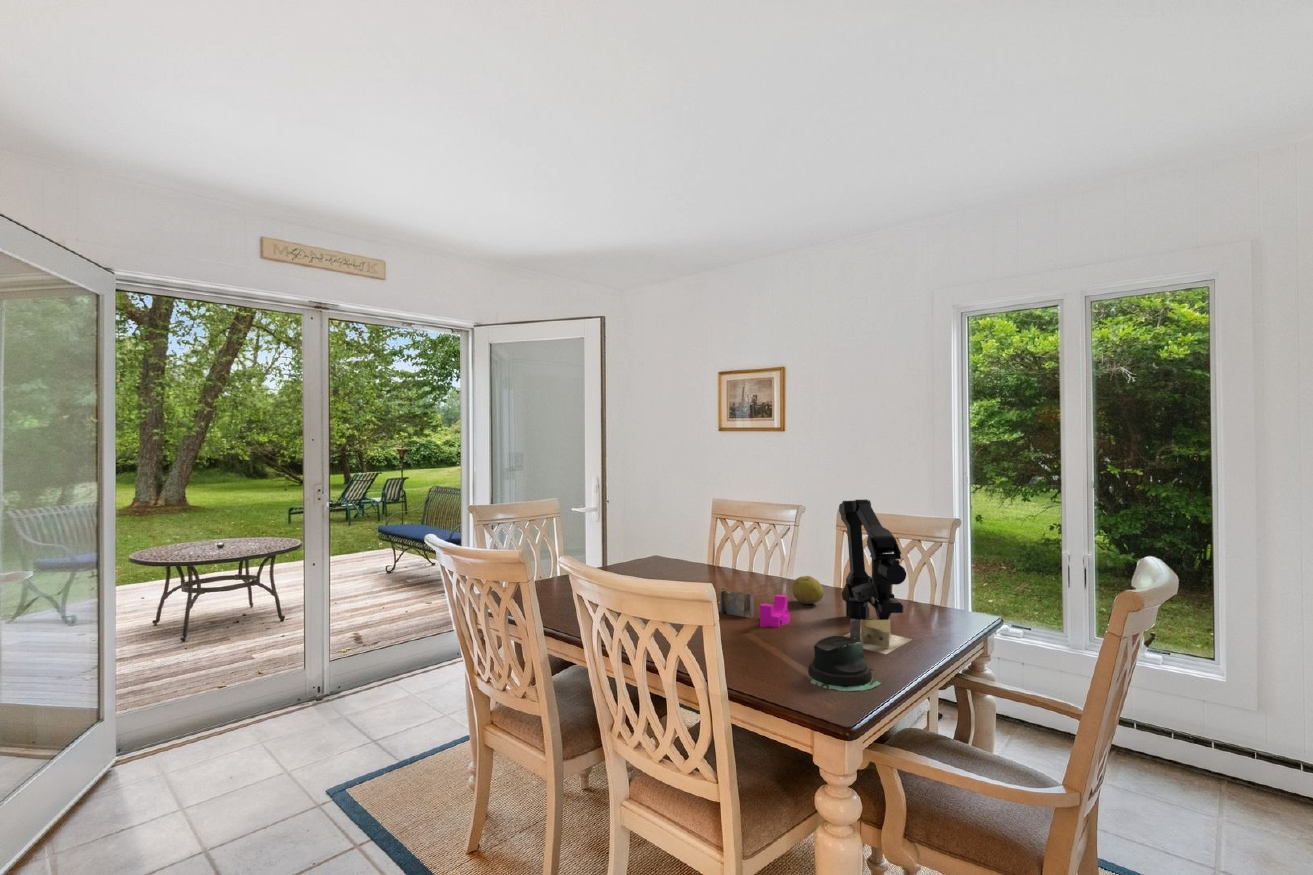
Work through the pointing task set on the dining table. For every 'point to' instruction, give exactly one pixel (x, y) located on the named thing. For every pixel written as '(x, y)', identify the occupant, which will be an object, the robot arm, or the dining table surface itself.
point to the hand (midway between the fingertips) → (881, 627)
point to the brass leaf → (876, 625)
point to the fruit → (807, 590)
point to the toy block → (775, 612)
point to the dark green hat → (841, 664)
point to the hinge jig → (875, 638)
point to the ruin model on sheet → (737, 603)
